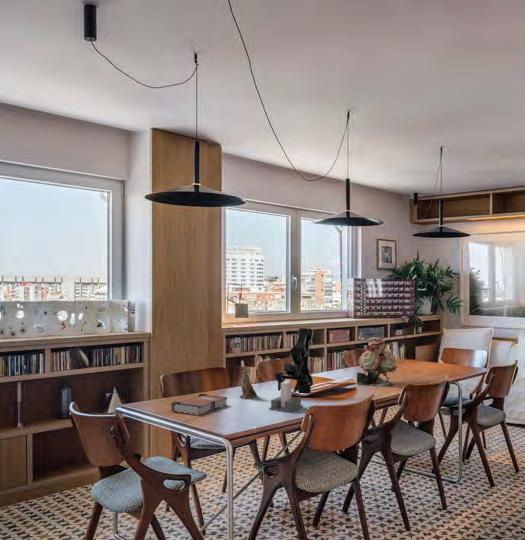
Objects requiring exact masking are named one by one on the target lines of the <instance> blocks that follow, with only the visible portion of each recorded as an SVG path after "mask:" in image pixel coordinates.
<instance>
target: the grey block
mask: <svg viewBox="0 0 525 540" xmlns="http://www.w3.org/2000/svg"><path fill="white" fill-rule="evenodd" d="M280 397H281V407H283V408H285V401H287V400H290V399H292V381H284V382H282V383H281V389H280Z"/></svg>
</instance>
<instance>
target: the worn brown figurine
mask: <svg viewBox="0 0 525 540" xmlns="http://www.w3.org/2000/svg"><path fill="white" fill-rule="evenodd" d="M240 387H241V392H242V394H240V395H239V398H242V399H241V400H248V398H249V399H252V398H257V392H256V391H255V389H254V386H253V385H252V383H251V380H250V377H249V375H248V374H247V370H246V369H243V370H242V380H241V381H240Z"/></svg>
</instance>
